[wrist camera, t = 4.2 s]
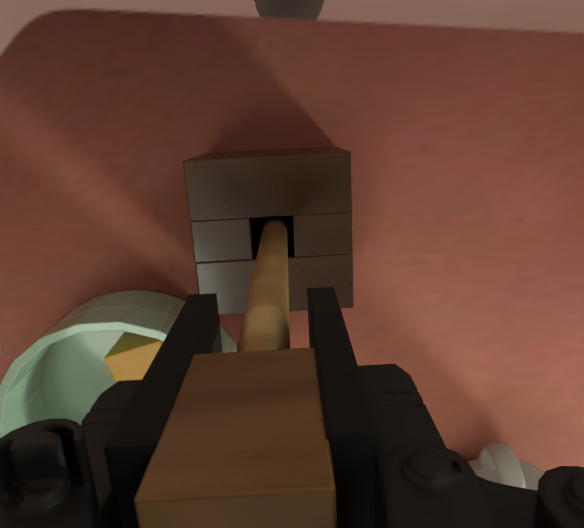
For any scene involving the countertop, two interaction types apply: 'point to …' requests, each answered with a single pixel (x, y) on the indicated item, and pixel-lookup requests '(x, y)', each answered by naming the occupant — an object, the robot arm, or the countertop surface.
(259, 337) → the brown wooden peg
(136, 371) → the mustard block
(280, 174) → the holder
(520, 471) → the teacup
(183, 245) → the countertop surface
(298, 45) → the countertop surface
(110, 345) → the bowl
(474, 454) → the countertop surface
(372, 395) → the robot arm
